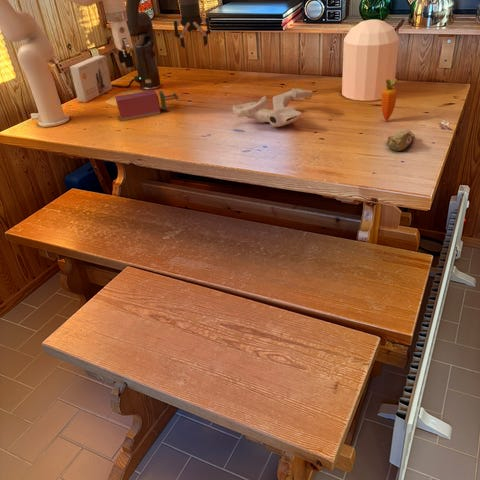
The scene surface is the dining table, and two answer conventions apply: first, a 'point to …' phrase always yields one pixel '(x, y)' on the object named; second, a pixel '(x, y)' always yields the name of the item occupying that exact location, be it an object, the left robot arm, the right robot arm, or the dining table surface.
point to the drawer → (166, 99)
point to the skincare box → (91, 78)
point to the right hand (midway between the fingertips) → (194, 46)
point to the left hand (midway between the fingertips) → (126, 64)
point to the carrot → (388, 99)
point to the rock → (400, 140)
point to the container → (369, 60)
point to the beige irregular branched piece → (280, 112)
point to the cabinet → (137, 105)
